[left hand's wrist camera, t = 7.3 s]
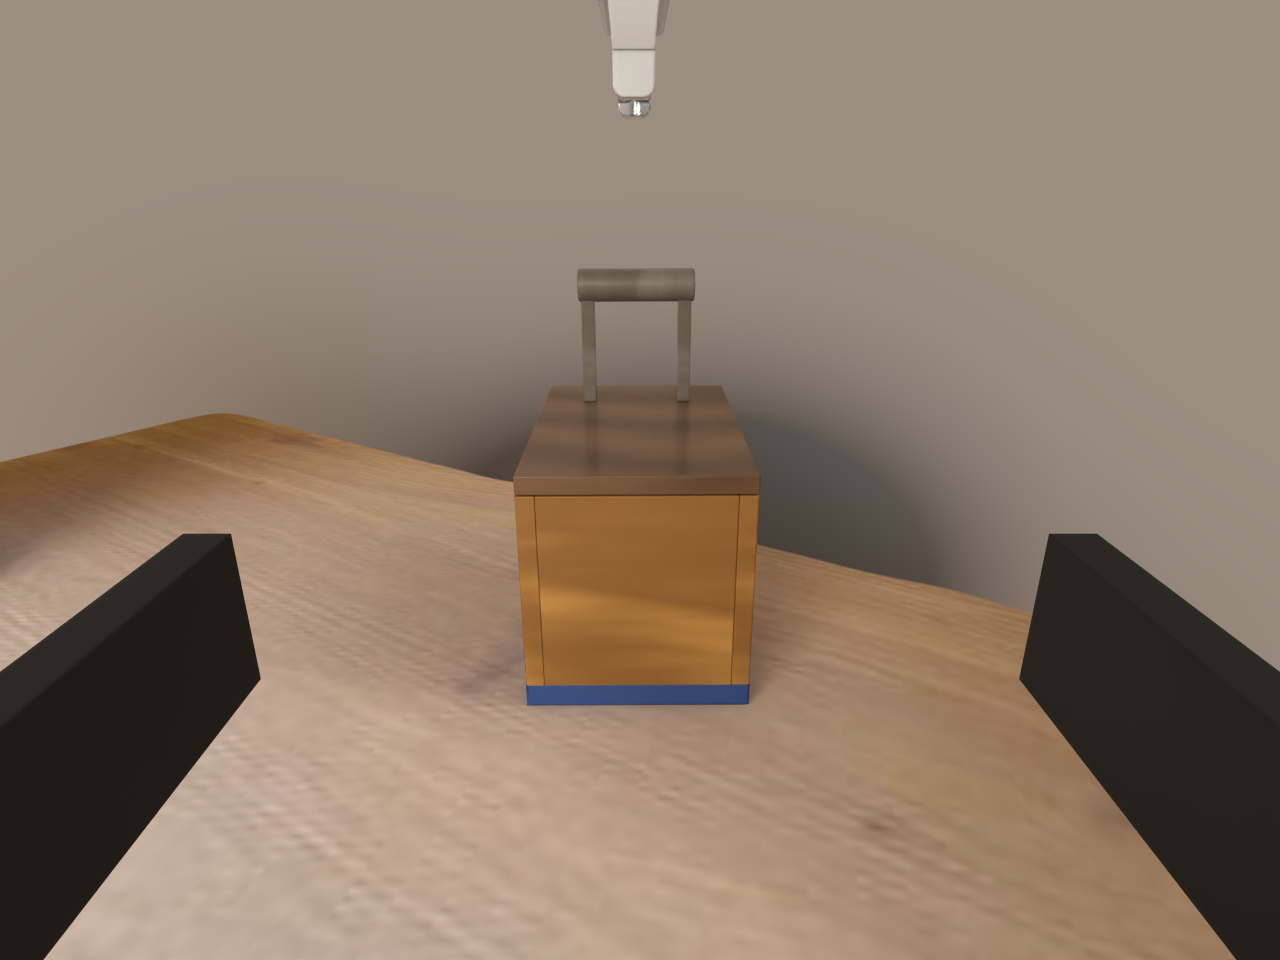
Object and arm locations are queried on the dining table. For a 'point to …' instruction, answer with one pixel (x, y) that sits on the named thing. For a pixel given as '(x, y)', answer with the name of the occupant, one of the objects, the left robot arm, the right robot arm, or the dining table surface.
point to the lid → (636, 415)
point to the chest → (637, 597)
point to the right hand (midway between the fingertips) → (634, 109)
